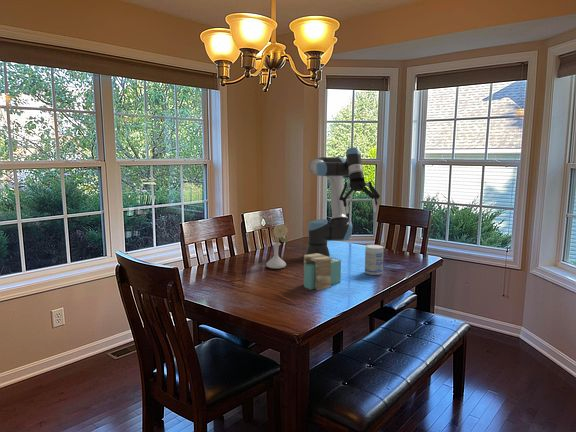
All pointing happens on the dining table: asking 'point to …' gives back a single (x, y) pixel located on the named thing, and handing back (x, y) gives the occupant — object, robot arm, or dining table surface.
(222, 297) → the dining table surface
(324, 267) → the tunnel
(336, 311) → the dining table surface
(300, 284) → the dining table surface
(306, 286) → the beige-capped teal block
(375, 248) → the supplement tub
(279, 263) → the flower in vase
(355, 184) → the robot arm
